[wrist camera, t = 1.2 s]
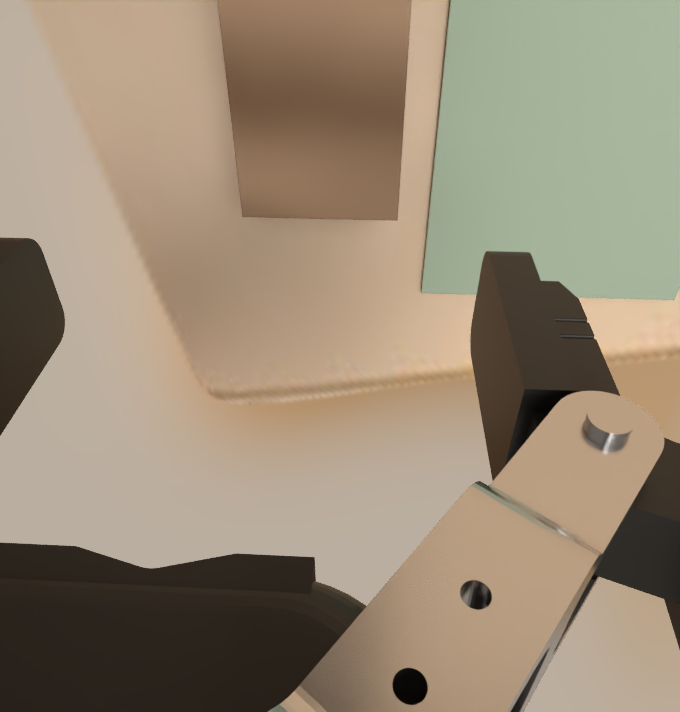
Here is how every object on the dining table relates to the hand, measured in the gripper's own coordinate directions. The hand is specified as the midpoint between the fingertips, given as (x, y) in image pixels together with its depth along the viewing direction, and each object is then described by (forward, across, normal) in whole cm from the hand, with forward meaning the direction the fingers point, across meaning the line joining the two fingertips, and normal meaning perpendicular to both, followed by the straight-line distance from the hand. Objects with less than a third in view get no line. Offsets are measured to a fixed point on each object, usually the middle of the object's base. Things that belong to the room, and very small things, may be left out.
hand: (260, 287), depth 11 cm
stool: (+20, 0, 0) cm, 20 cm away
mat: (+20, -12, +3) cm, 24 cm away
